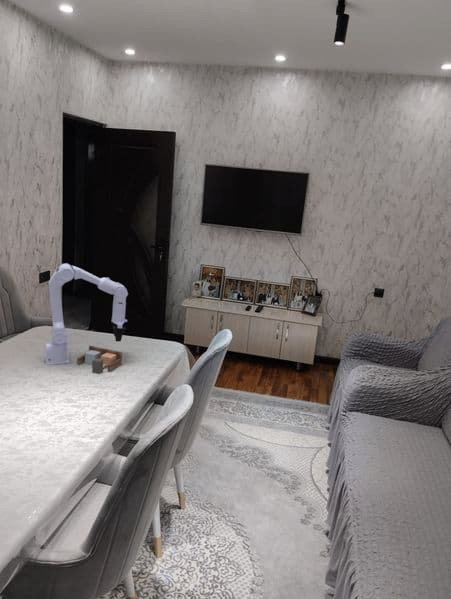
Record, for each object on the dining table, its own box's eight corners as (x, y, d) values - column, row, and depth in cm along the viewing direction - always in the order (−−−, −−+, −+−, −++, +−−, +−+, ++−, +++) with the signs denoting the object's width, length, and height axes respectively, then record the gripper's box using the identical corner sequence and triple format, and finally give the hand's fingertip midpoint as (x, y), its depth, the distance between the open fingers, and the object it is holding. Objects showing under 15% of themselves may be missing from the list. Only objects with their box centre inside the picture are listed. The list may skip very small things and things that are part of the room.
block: (84, 363, 209) (85, 353, 208) (90, 360, 214) (91, 349, 213) (94, 365, 208) (94, 355, 207) (100, 362, 212) (100, 351, 211)
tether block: (90, 372, 200) (90, 360, 199) (106, 362, 212) (106, 351, 211) (100, 374, 199) (101, 362, 197) (115, 365, 211) (116, 353, 210)
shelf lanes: (77, 364, 207) (77, 351, 205) (89, 357, 216) (90, 345, 215) (109, 371, 202) (110, 358, 201) (121, 364, 212) (122, 352, 211)
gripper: (129, 314, 208) (127, 343, 211) (125, 306, 222) (124, 333, 225) (113, 314, 206) (112, 343, 209) (110, 306, 219) (109, 333, 222)
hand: (117, 338), depth 217 cm, fingers open, 7 cm apart
